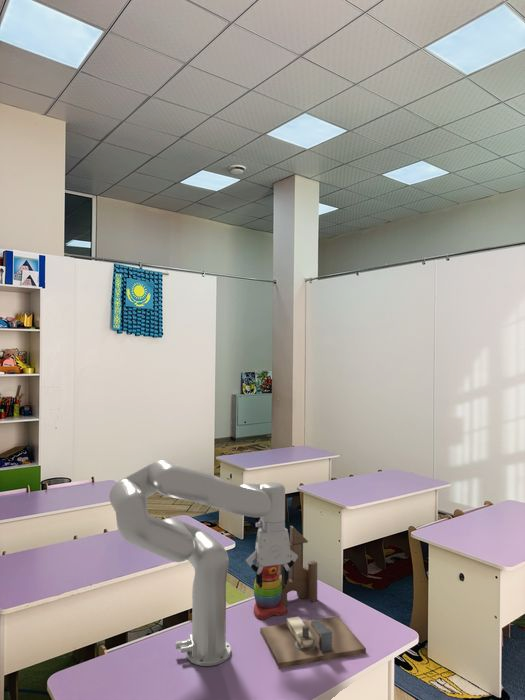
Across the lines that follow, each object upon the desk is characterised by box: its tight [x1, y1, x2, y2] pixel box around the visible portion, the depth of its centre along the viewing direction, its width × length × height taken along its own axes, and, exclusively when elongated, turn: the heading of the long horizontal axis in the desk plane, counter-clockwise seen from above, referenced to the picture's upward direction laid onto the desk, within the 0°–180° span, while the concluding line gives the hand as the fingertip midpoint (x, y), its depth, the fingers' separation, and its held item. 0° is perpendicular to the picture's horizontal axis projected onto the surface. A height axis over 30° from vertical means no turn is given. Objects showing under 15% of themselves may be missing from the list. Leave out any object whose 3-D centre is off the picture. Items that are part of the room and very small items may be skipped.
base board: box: [259, 615, 367, 670], centre depth 146 cm, size 26×18×2 cm
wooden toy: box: [277, 525, 318, 607], centre depth 172 cm, size 16×7×25 cm, turn 111°
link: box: [286, 616, 315, 649], centre depth 146 cm, size 14×5×4 cm, turn 16°
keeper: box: [311, 619, 332, 653], centre depth 143 cm, size 3×8×6 cm, turn 16°
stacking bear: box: [253, 565, 288, 620], centre depth 165 cm, size 11×10×18 cm
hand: (272, 583), depth 150 cm, fingers open, 7 cm apart
